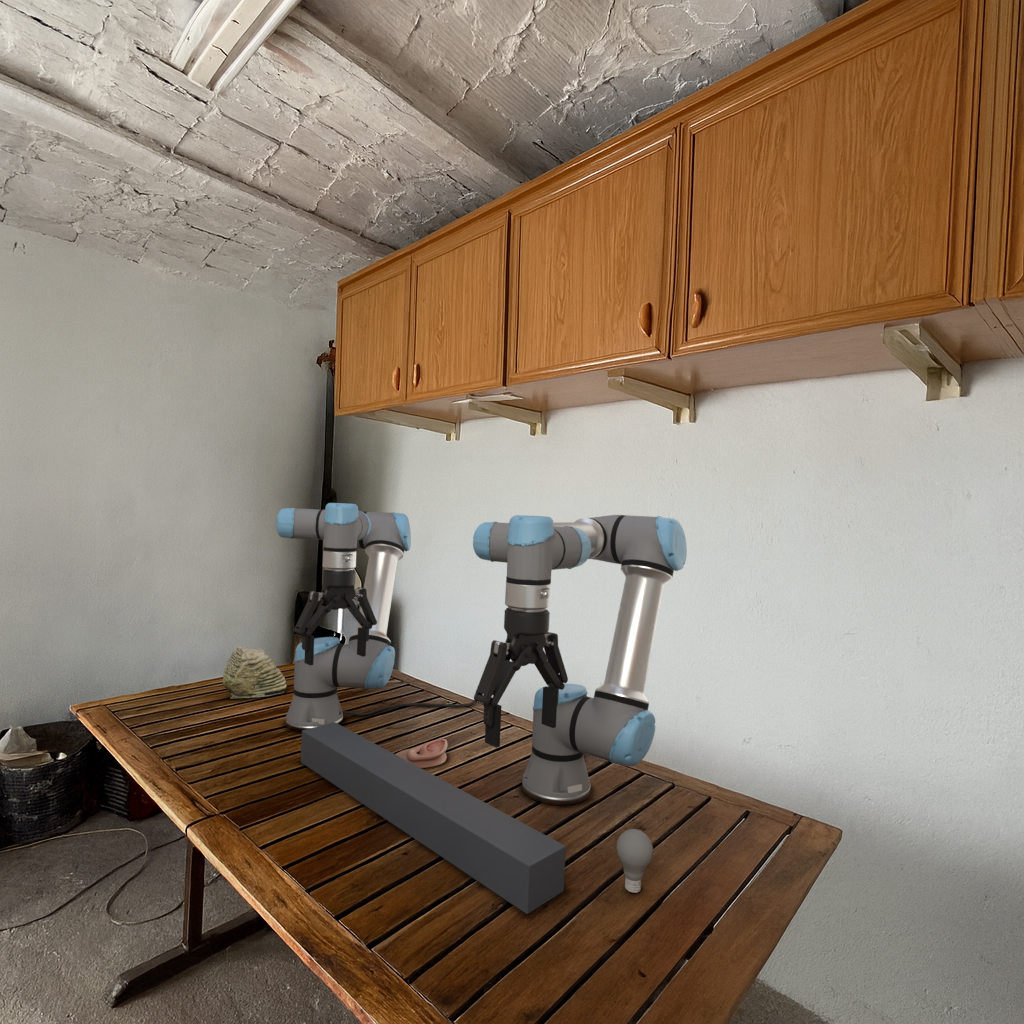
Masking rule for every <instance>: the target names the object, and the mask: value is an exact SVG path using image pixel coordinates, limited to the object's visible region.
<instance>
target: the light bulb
mask: <svg viewBox="0 0 1024 1024" xmlns="http://www.w3.org/2000/svg"><path fill="white" fill-rule="evenodd" d="M615 849H616V854H617V857H618V859H619V861H620V863H621V865H622V867H623V873H624V874H623V875H624V876H625V878H624V888H625V890H627V891H628V892H630V893H634V894H635V893H639V892H640V891H641V889H642V887H641V886H642V879H643V877H644V875H645V871H646V868H647V867H648V866H649V864H650V863H651V861H652V859H653V855H654V847H653V843H652V841H651V838H649V836H648V835H647V834H646V833H645V832H643V831H642V830H641V829H636V828H629V829H627V830H625V831H623V832H622V833H621V834H620V835H619V837H618V839H617V841H616V847H615Z"/></svg>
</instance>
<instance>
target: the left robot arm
mask: <svg viewBox="0 0 1024 1024" xmlns="http://www.w3.org/2000/svg"><path fill="white" fill-rule="evenodd" d="M410 525H411V524H410V520H409V517H408V516H407V514H405V513H400V512H394V511H392V512H386V511H385V512H384V511H383V512H381V511H365V510H359V507H358V505H357V504H356V503H345V502H328V503H327V504H326V505H325V508H324V509H315V508H314V509H313V508H297V507H296V508H295V507H292V508H291V507H284V508H281V509H280V510H279V511H278V513H277V516H276V520H275V528H276V529H275V530H276V532H277V535H278V536H279V537H281V538H282V539H283V538H284V539H291V540H292V539H296V540H316V541H317V540H318V541H323V553H322V567H323V568H324V569H323V570H322V577H321V587H322V589H321V591H314V590H310V591H309V592H308V597H307V602H306V604H305V605H304V608H303V609H302V612H301V613H300V616H299V618H298V620H297V622H296V624H295V627H294V628H293V632H294V633H295V634H298V635H301V642H300V643H298V644H297V645H296V648H295V655H294V659H293V662H294V672H293V695H292V696H293V697H292V699H291V702H290V704H289V708H288V711H287V713H286V715H285V726H286V728H287V729H289V730H291V731H294V732H295V731H296V732H301V733H302V730H306V729H310V728H315V727H319V726H323V725H327V724H331V723H337V724H339V725H342V723H343V722H344V715H351V716H355V717H356V716H357V717H365V716H371V715H374V714H376V713H379V712H381V711H386V710H390V709H396V708H403V707H434V708H435V707H439V708H440V707H441V708H466V707H470V706H473V705H474V704H476V703H478V702H477V701H475V700H474V699H473V700H472V701H471V702H468V703H458V704H457V703H455V704H454V703H428V702H409V703H408V702H407V703H398V704H393V705H387V706H383V707H380V708H375V709H374V710H371V711H367V712H355V711H349V710H343V709H342V706H341V702H340V699H339V695H338V688H348V689H366V690H371V689H373V690H374V689H376V690H377V689H379V690H380V689H383V688H384V687H385V686H387V684H388V683H389V681H390V680H391V679H390V678H391V677H392V673H393V671H394V666H395V658H396V650H395V647H394V646H392V645H391V644H392V641H391V640H390V638H389V637H388V636H387V634H388V627H389V621H390V620H389V619H390V614H391V608H392V607H391V606H392V600H393V594H394V587H395V581H396V573H397V567H398V562H399V561H400V560H402V559H403V558H404V556H405V555H404V554H405V552H409V551H410V550H411V547H412V545H411V544H412V535H411V533H412V532H411V526H410ZM357 549H361V550H362V549H363V550H364V551H365V552H364V553H365V555H366V556H367V557H368V561H367V562H368V563H367V567H366V573H365V580H364V584H363V587H361V586H359V587H357V588H355V585H356V578H357V577H356V576H357V575H356V574H357V572H356V570H354V569H355V568H357V551H358V550H357ZM355 597H356V598H357V601H358V603H359V607H360V608H358V606H357V604H356V603H355V602H354V599H355ZM321 600H322V601H321ZM320 601H321V602H320ZM319 602H320V604H319V605H318V603H319ZM317 606H318V608H317ZM316 608H317V610H316ZM340 609H342V610H346V609H347V610H348V611H349V613H350V614H351V615H352V616H353V618H354V619H355V620H356V621H357V625H356V630H355V632H354V633H353V634H351V635H350V636H349V638H348V643H345V644H344V643H341V641H340V638H338V637H334V636H324V637H315V635H312V634H313V633H314V632H315V630H316V629H317V628H318V626H319V625H320V624H321V622H322V621H323V620H324V618H325V617H326V616H327V614H328V613H330V612H331V611H336V610H340ZM315 610H316V611H315Z"/></svg>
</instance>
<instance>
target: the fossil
mask: <svg viewBox="0 0 1024 1024" xmlns="http://www.w3.org/2000/svg"><path fill="white" fill-rule="evenodd" d="M222 676H223V677H222V685H223V687H224V688H225V690H226V691H228V693H229V698H230V699H250V698H264V697H271V696H275V695H281V694H284V693H285V691H286V689H287V687H288V686H287V680H286V678H285V676H284V674H283V673H282V672H281V669H279V668H278V667H277V665H276V663H275V662H274V660H273V659H272V658H271V657H270V656H269V655H268V654H267V653H266V652H265V650H264V649H263V648H260V647H258V648H251V647H247V646H246V647H245V646H238V647H237V648H236V649H235V650H233V651H232V653H231V656H230V657H229V659H228V660H227V663H226V666H225V668H224V671H223V675H222Z"/></svg>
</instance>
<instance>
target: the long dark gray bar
mask: <svg viewBox="0 0 1024 1024" xmlns="http://www.w3.org/2000/svg"><path fill="white" fill-rule="evenodd" d="M300 740H301V743H300V763H301V764H303V765H304V766H306V767H307V768H308V769H310V770H312V771H313V772H314V773H316V774H317V775H319V776H320V777H322V778H323V779H325V780H326V781H328V782H330V783H331V784H333V785H334V786H335V787H337V788H338V789H340V790H341V791H343V792H345V793H346V794H347V795H349V796H351V798H353V799H355V800H356V801H357V802H359V803H361V804H362V805H364V806H365V807H367V808H368V809H370V810H371V811H373V812H374V813H375V814H377V815H379V816H380V817H382V818H383V819H385V820H386V821H387V822H388V823H391V824H392V825H393V826H395V827H397V828H398V829H399V830H401V831H402V832H404V833H405V834H407V835H408V836H409V837H411V838H413V839H415V840H416V841H417V842H419V843H420V844H422V845H423V846H424V847H426V848H428V849H429V850H431V852H433V853H435V854H437V855H438V856H439V857H440V858H443V859H444V860H445V861H447V862H448V863H450V864H451V865H453V866H454V867H456V868H458V870H460V871H462V872H463V873H465V874H466V875H468V876H469V877H471V878H472V879H474V880H475V881H477V882H478V883H479V884H481V885H483V886H484V887H486V888H487V889H488V890H490V891H492V892H493V893H494V894H496V895H498V896H499V897H500V898H501V899H504V900H505V901H506V902H508V903H510V904H511V905H512V906H514V907H516V908H517V909H518V910H519V911H522V912H523V913H524V914H526V915H529V914H530V913H532V912H533V911H535V910H537V909H538V908H540V907H541V906H543V905H545V904H547V902H549V901H551V900H552V899H553V898H555V897H557V896H559V895H560V894H562V893H563V892H565V872H566V851H567V850H566V849H567V846H566V845H564V844H563V843H561V842H559V841H557V840H555V839H553V838H551V837H550V836H548V835H547V834H544V833H543V832H540V831H538V830H537V829H535V828H532V827H531V826H529V825H528V824H526V823H524V822H522V821H520V820H518V819H516V818H515V817H512V816H511V815H509V814H507V813H505V812H503V811H501V810H500V809H498V808H495V807H494V806H492V805H490V804H488V803H487V802H485V801H483V800H481V799H479V798H477V797H475V796H473V795H472V794H469V793H468V792H466V791H464V790H463V789H460V788H459V787H457V786H454V785H453V784H451V783H449V782H447V781H445V780H443V779H442V778H440V777H438V776H436V775H434V774H433V773H430V771H429V772H428V771H426V770H425V769H424V768H419V767H417V766H416V765H414V764H412V763H410V762H408V761H406V760H404V759H403V758H401V757H399V756H397V755H395V754H396V753H394V752H391V751H389V750H387V749H386V748H384V747H382V746H380V745H378V744H376V743H375V742H373V741H372V740H369V739H367V738H365V737H363V736H361V735H360V734H357V733H356V732H354V731H353V730H350V729H348V728H346V727H345V726H343V725H342V724H340V725H339V724H337V723H331V724H327V725H323V726H319V727H315V728H310V729H306V730H302V732H301V739H300Z"/></svg>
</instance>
